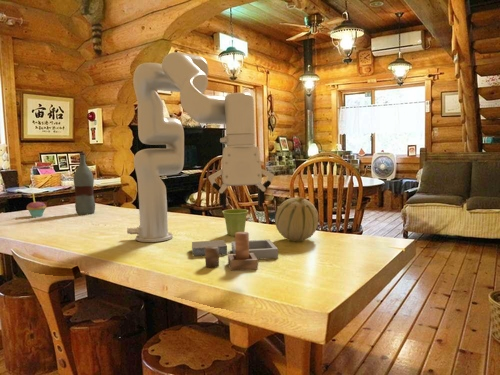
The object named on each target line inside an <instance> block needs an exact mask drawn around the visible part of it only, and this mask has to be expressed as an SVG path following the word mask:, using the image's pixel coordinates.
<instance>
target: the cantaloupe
mask: <svg viewBox="0 0 500 375" xmlns="http://www.w3.org/2000/svg"><path fill="white" fill-rule="evenodd" d="M274 216H275V217H274V218H275V220H274V222H275V227H276V230H277V231H278V233H279V234H280V235H281V236H282V237H283V238H284V239H287V240H290V241H294V242H303V241H305V240H308V239H310V238H311V237H312V236H313V235H314V234H315V232H316V230H317V228H318V224H319V220H320V219H319V213H318V210H317V208H316V207H315V204H313V203H312V202H311V201H310V200H308V199H306V198H304V197H303V196H301V197H290V198H288V199H286V200H284V201H283V202H281V204H280V205H279V206H278V208H277V209H276V211H275V215H274Z"/></svg>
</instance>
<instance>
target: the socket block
mask: <svg viewBox="0 0 500 375" xmlns="http://www.w3.org/2000/svg"><path fill="white" fill-rule="evenodd" d="M258 260H259V259H257V258H256V257H255V255H254V253H249V259H243V260H236V254H233V253H229V254H228V253H227V261H228V262H227V263H228V266H229V269H230V271H231V272H235V271H246V270H247V271H250V270H258V269H259V268H258V266H259V265H258V264H259V262H258Z"/></svg>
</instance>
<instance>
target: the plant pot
mask: <svg viewBox="0 0 500 375" xmlns="http://www.w3.org/2000/svg"><path fill="white" fill-rule="evenodd" d="M221 212H222V214H223V217H224V220H225V226H226V233H227V235H228V236H231V237H235V233H237V232H246V231H245V230H246V222H247V216H248V213H249V210H248V209H245V208H244V209H243V208H232V209H231V208H229V209H225V210H222V211H221Z"/></svg>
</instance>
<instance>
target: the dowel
mask: <svg viewBox="0 0 500 375" xmlns="http://www.w3.org/2000/svg"><path fill="white" fill-rule="evenodd" d="M249 237H250V234H249V232H247V231H244V232H237V233H235V236H234V238H235V240H234V241H235V248H236V260H243V259H249V241H250V238H249Z"/></svg>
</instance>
